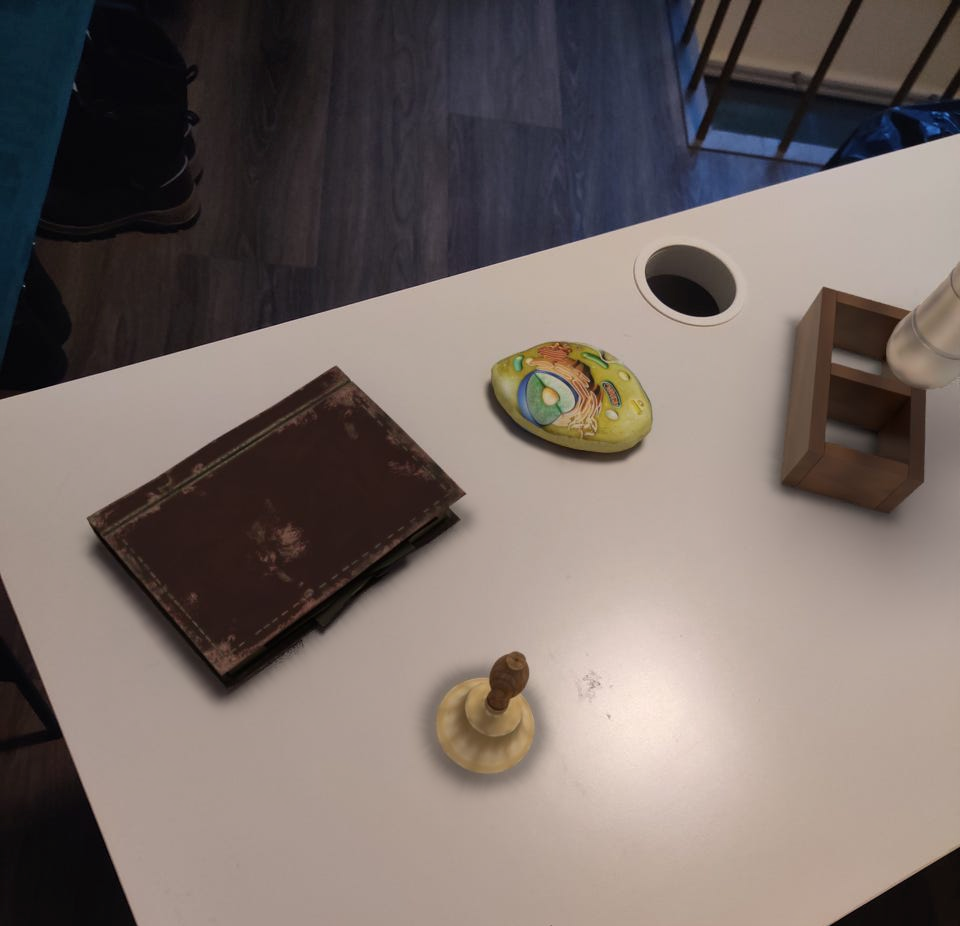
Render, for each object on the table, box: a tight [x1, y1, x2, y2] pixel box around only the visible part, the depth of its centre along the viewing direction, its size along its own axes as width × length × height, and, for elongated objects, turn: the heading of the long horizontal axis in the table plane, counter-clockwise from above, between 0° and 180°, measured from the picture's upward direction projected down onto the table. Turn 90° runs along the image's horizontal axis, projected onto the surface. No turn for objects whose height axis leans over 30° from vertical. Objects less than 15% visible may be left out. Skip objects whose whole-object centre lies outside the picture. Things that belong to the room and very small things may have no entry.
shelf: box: [780, 286, 927, 514], centre depth 83 cm, size 11×20×6 cm, turn 167°
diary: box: [86, 365, 467, 691], centre depth 71 cm, size 19×25×5 cm
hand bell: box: [435, 650, 535, 774], centre depth 61 cm, size 8×8×16 cm
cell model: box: [490, 340, 654, 454], centre depth 79 cm, size 11×8×15 cm
